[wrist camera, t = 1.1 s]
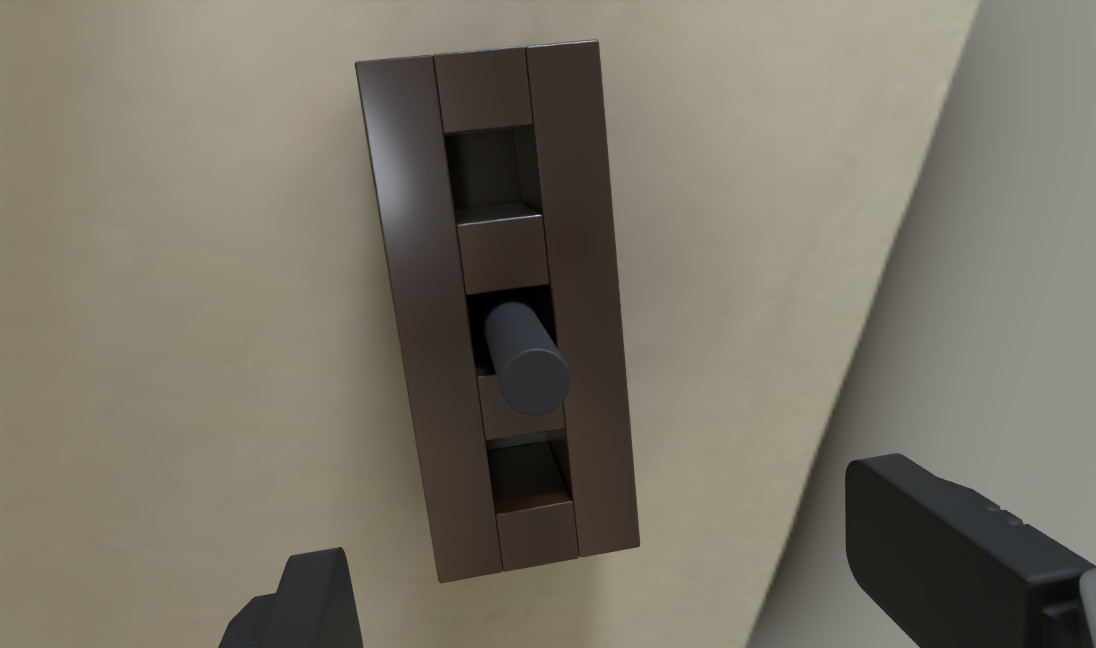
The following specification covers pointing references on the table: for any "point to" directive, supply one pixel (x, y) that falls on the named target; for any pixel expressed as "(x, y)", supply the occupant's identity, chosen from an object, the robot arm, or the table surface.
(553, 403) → the stylus
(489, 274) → the pen stand
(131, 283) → the table surface
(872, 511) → the robot arm
